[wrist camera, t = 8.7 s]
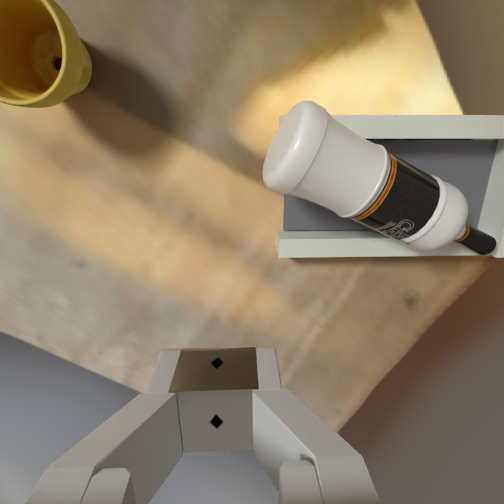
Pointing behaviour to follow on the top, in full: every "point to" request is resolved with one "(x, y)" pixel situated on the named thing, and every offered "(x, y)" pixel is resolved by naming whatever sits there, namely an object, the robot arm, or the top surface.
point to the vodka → (367, 183)
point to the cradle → (424, 158)
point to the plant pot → (40, 54)
